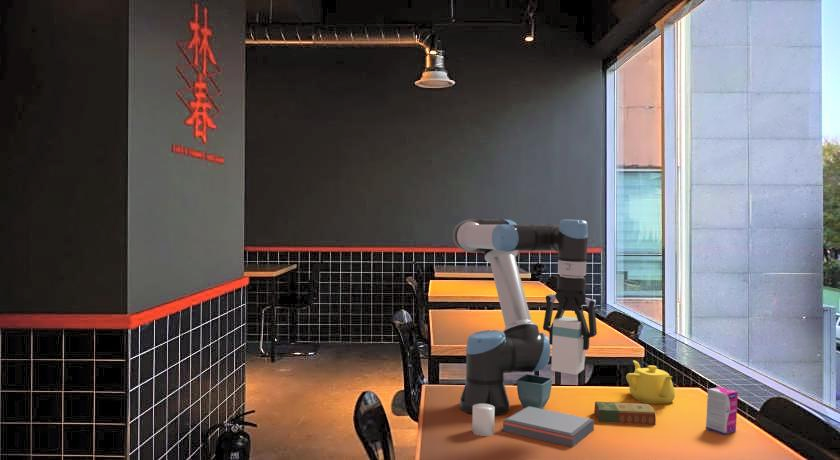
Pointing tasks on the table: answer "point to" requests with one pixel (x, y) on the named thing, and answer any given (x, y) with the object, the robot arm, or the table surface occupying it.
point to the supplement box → (721, 410)
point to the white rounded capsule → (483, 419)
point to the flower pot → (534, 390)
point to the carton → (625, 413)
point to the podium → (549, 426)
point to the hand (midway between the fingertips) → (568, 358)
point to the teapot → (651, 385)
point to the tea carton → (566, 345)
